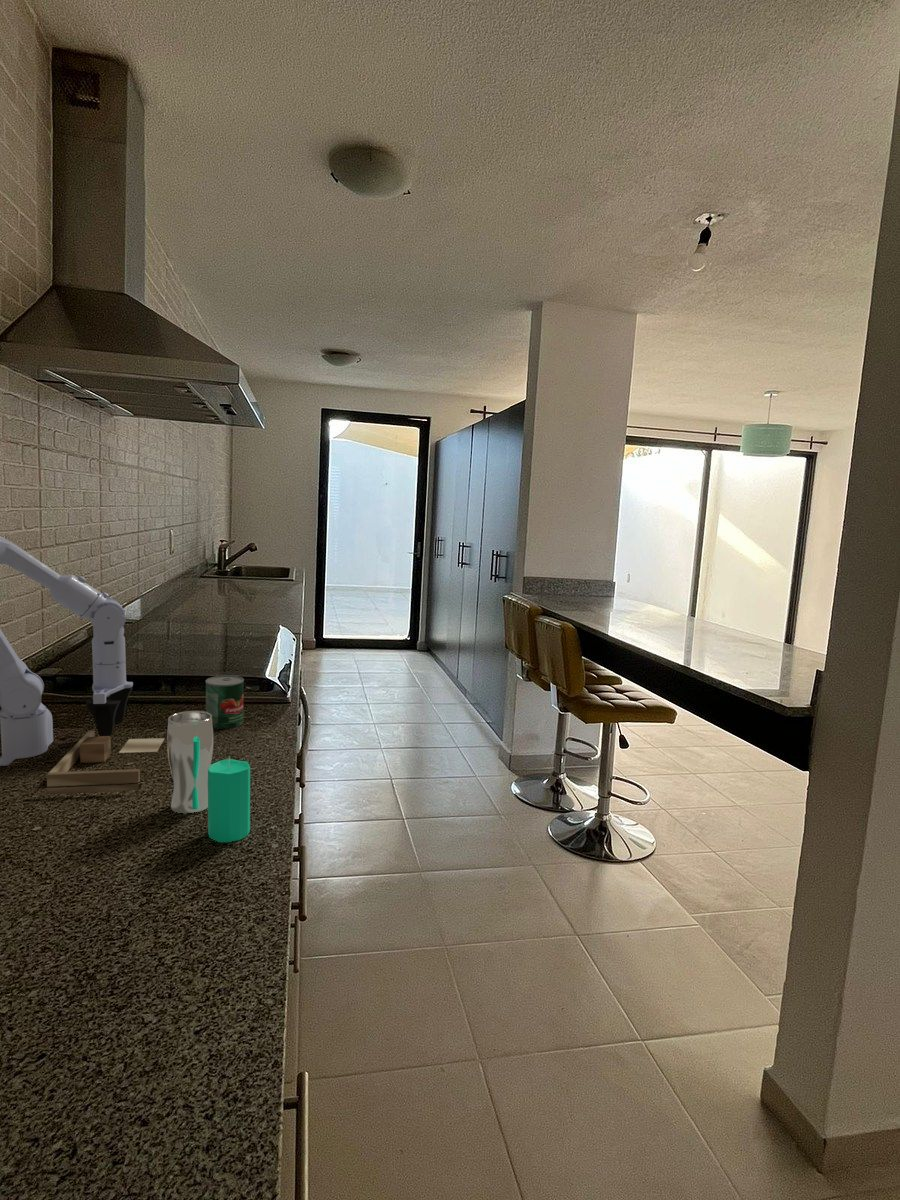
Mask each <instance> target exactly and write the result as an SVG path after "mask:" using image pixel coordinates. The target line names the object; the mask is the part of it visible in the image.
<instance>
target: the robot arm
mask: <svg viewBox="0 0 900 1200" xmlns="http://www.w3.org/2000/svg"><path fill="white" fill-rule="evenodd" d="M0 565H6V566H8V567H11V568H12V569H13V570H16V571H17V572H19V573H21V574H22V575H24V576H26V577H28V578H29V579H31V580H33V581H35V582H36V583H38V584H40V585H42V586H44V587H45V588H46V589H48V590H49V591H50V598H51V600H52V601H55V602H56V603H57V604H59V605H61V606H63V607H64V608H65V609H67V610H69V611H70V612H72V613H74V614H75V615H77V616H79V617H80V618H82V619H88V620H90V624H91V626H92V630H93V632H92V633H93V637H92V639H91V650H92V651H91V652H92V681H93V682H92V686H91V689H92V692H93V693H92V699H88V700H87V701H86V702H85V707H86V708H87V710H88V711H89V713H90V714H91V716H92V718H93V720H94V723H95V727H96V730H97V732H98V735H99V736H110V737H112V736H113V733H114V729H115V728H114V727H115V724H122V723H123V721H124V718H125V713H126V707H127V704H128V700H129V697H130V694H131V693H132V691H133V689H134V688H133V686H134V682H133V681H127V665H126V664H127V663H126V659H127V657H126V638H125V636H124V634H125V627H124V625H125V624H126V619H127V617H126V615H125V611H124V608H123V606H122V604H121V603H119V602H118V601H117V600H116V599H115V598H113V597H110V595H109V594H108V593H107V592H105V591H104V592H103V593H102V592H101V591H99V590H97V588H94V587H93V586H91V585H90V584H88V583H86V582H87V579H86V578H85V577H83V576H82V575H79V576H78V577H77V576H76V575H74V574H65V575H61V574H60V573H58V572H56V571H55V570H54V569H53V568H51V567H49V566H47V565H46V564H45V563H44V562H42V561H41V560H39V559H37V558H36V557H35V556H34V555H31V554H30V553H29V552H27V551H26V550H24V549H23V548H22V547H20V546H18V545H17V544H15V543H14V542H12V541H11V540H8V539H6V538H5V537H3V536H1V535H0ZM44 690H45V684H44V681H43V679H42V678H41V676H39V675H38V674H37V673H34V672H33V671H31V670H30V669H29V668H28V666H27V664H26V663H25V662H24V661H23V660H22V659H21V658H20V657H19V656H18V654H17V653H16V651H15V650H14V648H13V647H12V645H11V644H10V641H9V640H8V638H7V637H6V635H5V634H4V632H3V631H2V629H1V628H0V708H1V709H0V739H1V740H0V741H1V742H0V744H1V756H0V767H6V766H7V767H8V766H10V764H11V763H12V762H14V761H15V760H17V759H25V758H26V759H27V758H32V757H36V756H39V755H41V754H44V753H45V752H47V751H48V749H49V746H50V745H51V744H53V742H54V727H53V726H54V725H53V722H54V721H53V715H52V713H51V711H50V710H49V709H48V708H47V706H46V705H44V704H43V703H42V695H43V694H44Z"/></svg>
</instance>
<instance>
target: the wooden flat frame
mask: <svg viewBox="0 0 900 1200" xmlns="http://www.w3.org/2000/svg"><path fill="white" fill-rule="evenodd" d="M95 733H96V731H95V730H94V729H93V730H88V731H87V732H86V733H85V734H83V736H82V737H81V738H80V739H79V740H78V741H77V742H76V744H75V745H73V747H72V748H71V749H70V750H68V751H67V753H66V754H65V755H64V756H63V757H62V758H61V759H60V760H59V761H58V763H56V765H54V766H53V768H51V770H50V771H48V773H47V774H46V787H47V788H46V789H47V790H46V791H47V795H64V794H86V793H107V792H108V793H109V792H111V793H112V792H131V791H133V790H135V791H140V789H141V787H142V786H141V785H143V783H140V781H141V777H140V776H141V769H140V768H133V769H132V768H131V769H108V770H107V769H106V770H105V769H104V770H103V769H102V770H82V771H81V770H78V771H76V770H75V771H70V769H71V768H72V767H73V766H74V764H76V762H77V761H78V760H79V759H80V744H81V743H82V742H83V741H84V740H85V738H86V737H96V735H95ZM165 739H166V738H165V737H161V738H160V737H157V738H156V737H155V738H153V737H152V738H128V740H127V741H126V742H125V744H123V746H122V747H121V749H120V750H119V752H118V754H131V753H157V752H158V751H159V749H160V748H161V746H162V744H163V743H164V741H165ZM135 791H134V792H135Z"/></svg>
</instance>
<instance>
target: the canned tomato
mask: <svg viewBox="0 0 900 1200" xmlns="http://www.w3.org/2000/svg"><path fill="white" fill-rule="evenodd" d="M244 681H245V679H244V678H243V677H241V676H238V675H216V676H212V677H208V678H207V679H206V680H205V712H208V713H210V714H211V715H212V724H213V729H219V730H220V729H222V730H223V729H232V728H236V727H239V726H241V725H242V724H243V723H244V707H245V706H244V697H245V695H244V692H245V691H244V689H245V688H244Z"/></svg>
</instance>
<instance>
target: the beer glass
mask: <svg viewBox="0 0 900 1200" xmlns="http://www.w3.org/2000/svg"><path fill="white" fill-rule="evenodd" d="M166 735H167V736H166V748H167V749H166V750H167V751H166V752H167V757H168V758H167V759H168V763H169V764H168V765H169V768H170V774H171V778H172V789H173V791H172V797H171V801H170V802H171V803H170V809H171V811H173V812H174V813H176V812H177V813H176V814H180V813H183V814H182V815H188V814H187V813H192V814H195V813H196V812H197V813H200V812H203V811H206V809H207V810H208V768H209V767H210V765H211V764H212V759H213V753H214V728H213V724H212V715H211V714H210V713H208V712H206V711H202V710H187V711H180V712H177V713H173V714H172V715H170V716H169V717H168V718H167V733H166ZM194 812H195V813H194Z"/></svg>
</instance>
